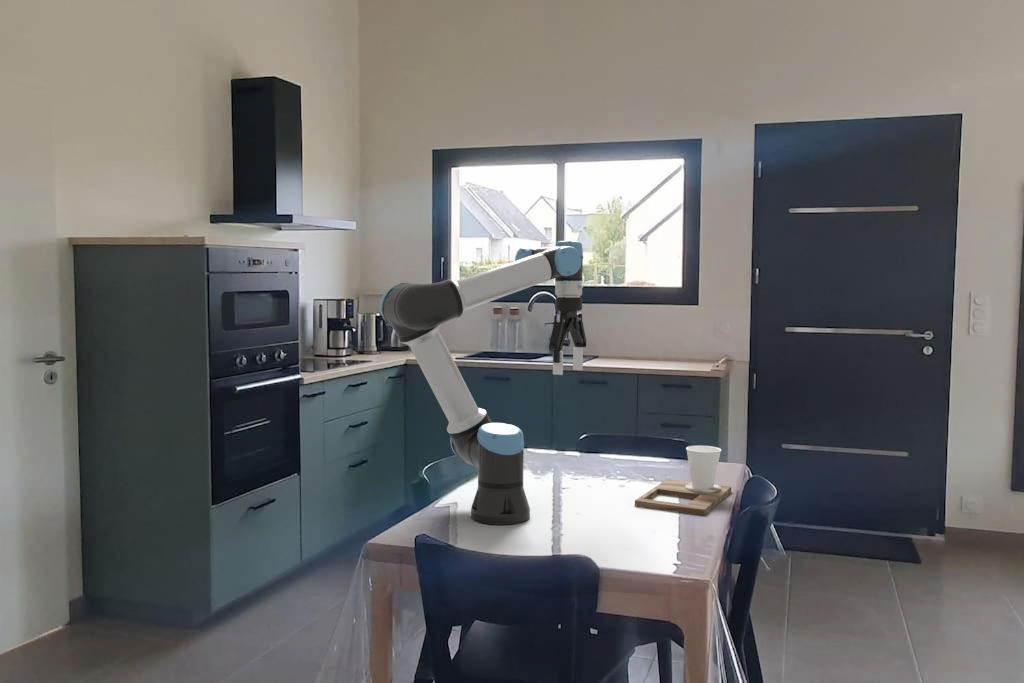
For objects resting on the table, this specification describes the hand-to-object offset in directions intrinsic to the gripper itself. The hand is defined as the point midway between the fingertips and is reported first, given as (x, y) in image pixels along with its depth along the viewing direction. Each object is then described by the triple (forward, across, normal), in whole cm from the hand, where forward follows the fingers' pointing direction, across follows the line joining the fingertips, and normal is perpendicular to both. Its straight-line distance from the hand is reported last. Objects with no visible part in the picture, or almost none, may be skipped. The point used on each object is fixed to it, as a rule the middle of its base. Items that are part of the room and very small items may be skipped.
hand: (567, 372), depth 246 cm
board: (+35, +11, -31) cm, 48 cm away
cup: (+33, +19, -34) cm, 51 cm away
